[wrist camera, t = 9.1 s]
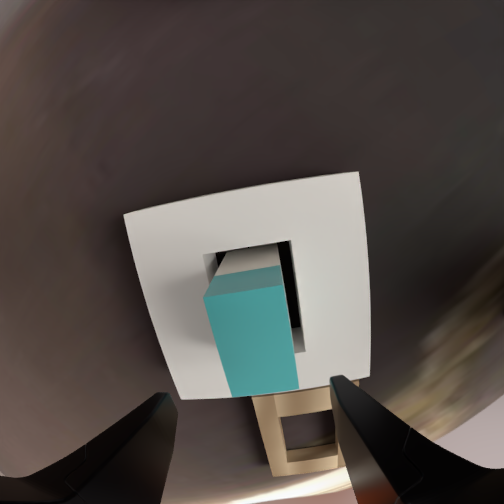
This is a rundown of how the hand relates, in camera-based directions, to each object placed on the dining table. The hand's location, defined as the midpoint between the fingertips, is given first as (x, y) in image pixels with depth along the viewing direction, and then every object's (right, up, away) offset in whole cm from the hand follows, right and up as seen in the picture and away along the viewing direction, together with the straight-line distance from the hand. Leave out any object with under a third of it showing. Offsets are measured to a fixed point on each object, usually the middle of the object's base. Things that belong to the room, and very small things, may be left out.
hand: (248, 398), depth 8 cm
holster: (+5, -10, +12) cm, 17 cm away
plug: (+1, +2, +10) cm, 10 cm away
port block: (+1, +2, +10) cm, 10 cm away
